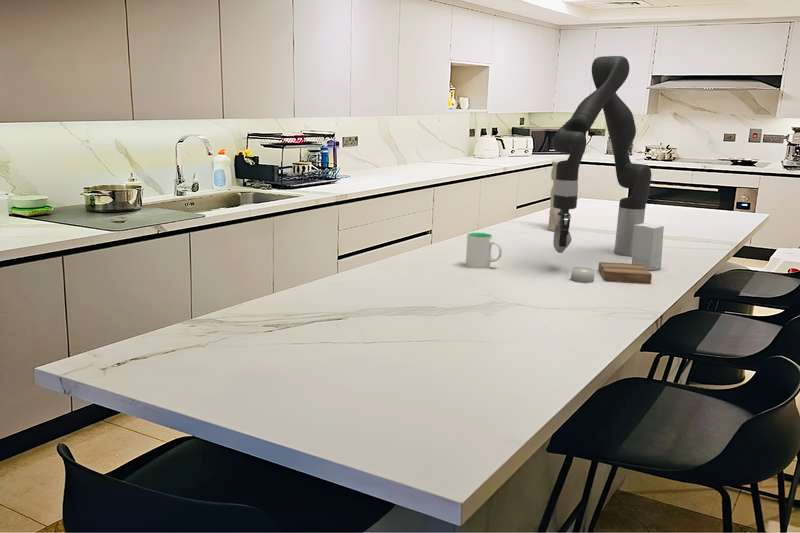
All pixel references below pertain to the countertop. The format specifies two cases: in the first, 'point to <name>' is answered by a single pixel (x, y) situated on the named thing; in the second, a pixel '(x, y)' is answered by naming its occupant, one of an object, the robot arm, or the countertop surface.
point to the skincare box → (648, 245)
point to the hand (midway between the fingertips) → (561, 244)
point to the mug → (480, 250)
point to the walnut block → (624, 272)
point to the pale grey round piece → (582, 274)
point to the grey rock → (556, 240)
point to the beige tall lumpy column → (553, 211)
